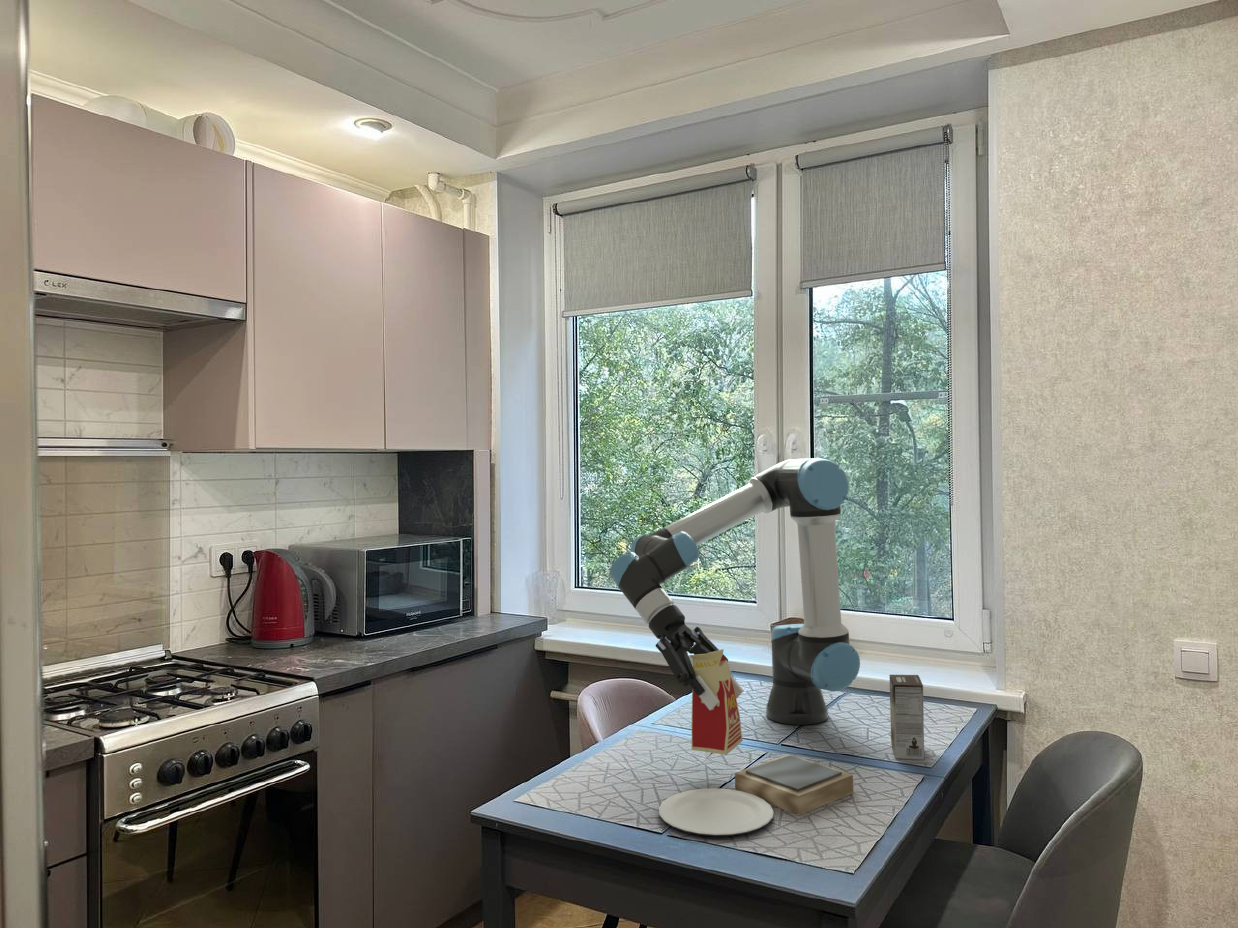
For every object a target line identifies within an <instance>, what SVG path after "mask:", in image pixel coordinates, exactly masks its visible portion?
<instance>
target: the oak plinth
mask: <svg viewBox="0 0 1238 928" xmlns="http://www.w3.org/2000/svg"><path fill="white" fill-rule="evenodd" d="M734 790H737V791H743V792H746V793H749V794H753V795H755V796H757V797H759V798H761V799H763V800H765V801H766V802H767V803H768V804H769V805H771V804H772V805H771V806H774V807H776V806H777V808H779V809H781V810H784V811H787V812H790V813H792V814H794V815H797V816H801V815H803V814H806V813H808V812H811V811H814V810H815V809H819V808H820V807H822V806H825V805H827V804H830V803H833V802H835V801H837V800H840V799H842V798H845V797H847V796H849V795H851V794H853V793H854V774H852V773H848V772H845V771H843V770H839V769H836V768H833V767H829V766H826V765H824V764H820V763H817V762H815V761H814V762H813V761H811V760H807V759H805V758H801V757H798V756H796V755H792V754H786V755H782V756H780V757H777V758H774V759H771V760H768V761H765V762H762V763H760V764H757V765H754V766H750V767H748V768H745V769H742V770H739V771H736V772H734Z"/></svg>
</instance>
